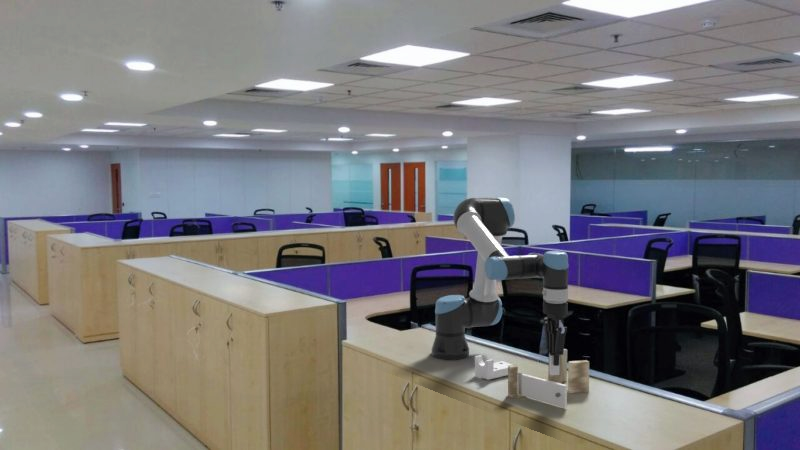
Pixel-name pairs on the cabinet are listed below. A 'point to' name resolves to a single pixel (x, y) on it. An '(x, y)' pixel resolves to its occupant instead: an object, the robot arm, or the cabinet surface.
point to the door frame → (576, 378)
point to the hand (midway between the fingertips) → (554, 374)
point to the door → (542, 390)
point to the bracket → (490, 368)
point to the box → (562, 370)
